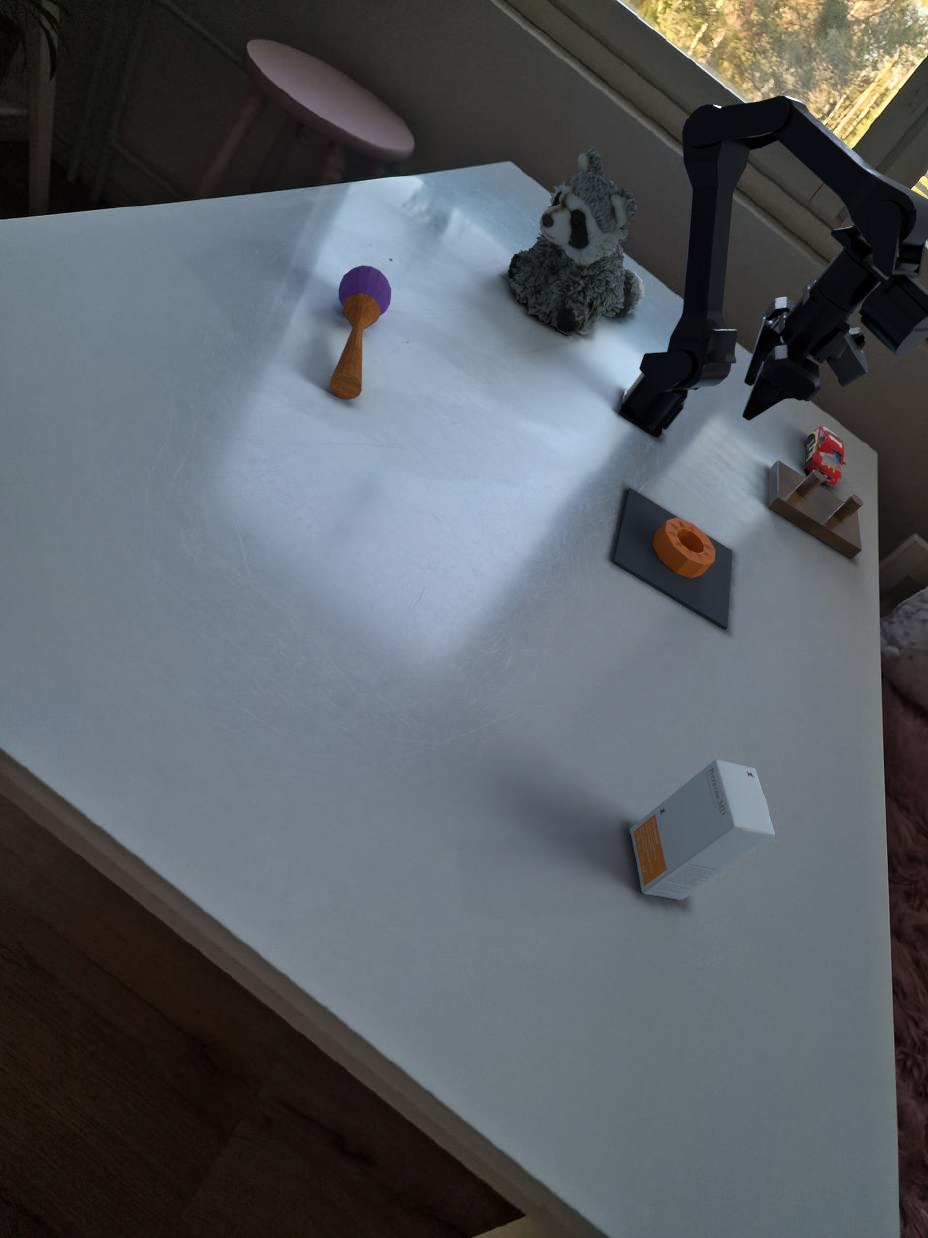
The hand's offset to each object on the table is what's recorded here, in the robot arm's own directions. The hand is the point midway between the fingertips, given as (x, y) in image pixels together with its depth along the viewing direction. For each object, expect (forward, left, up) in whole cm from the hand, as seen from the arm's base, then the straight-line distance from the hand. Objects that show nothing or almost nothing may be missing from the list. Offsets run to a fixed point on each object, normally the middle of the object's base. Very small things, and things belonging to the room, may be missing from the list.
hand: (746, 400), depth 122 cm
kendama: (-44, -18, -12) cm, 49 cm away
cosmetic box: (+2, -63, -12) cm, 64 cm away
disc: (0, -20, -12) cm, 23 cm away
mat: (0, -20, -12) cm, 23 cm away
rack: (+20, +8, -12) cm, 25 cm away
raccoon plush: (-24, +25, -12) cm, 37 cm away
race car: (+22, +24, -12) cm, 35 cm away
